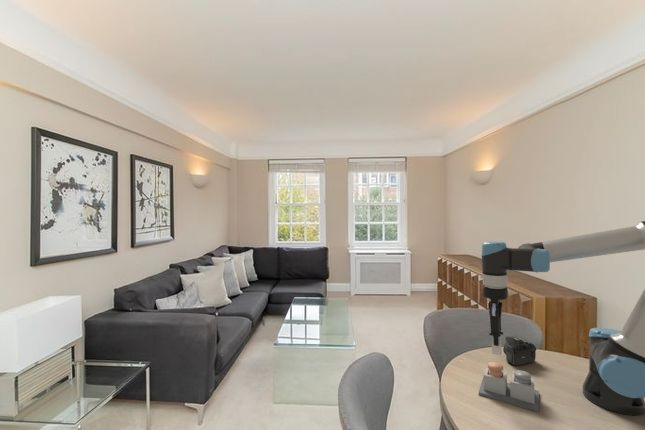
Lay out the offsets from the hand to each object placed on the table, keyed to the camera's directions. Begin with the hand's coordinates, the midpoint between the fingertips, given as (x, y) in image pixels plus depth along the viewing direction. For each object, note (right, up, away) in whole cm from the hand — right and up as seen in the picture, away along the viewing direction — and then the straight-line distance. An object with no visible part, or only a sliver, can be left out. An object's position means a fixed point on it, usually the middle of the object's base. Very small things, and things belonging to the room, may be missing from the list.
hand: (496, 353), depth 109 cm
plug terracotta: (0, -11, 0) cm, 11 cm away
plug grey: (+6, -11, -4) cm, 14 cm away
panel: (+3, -13, -2) cm, 14 cm away
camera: (+21, -13, +21) cm, 32 cm away
